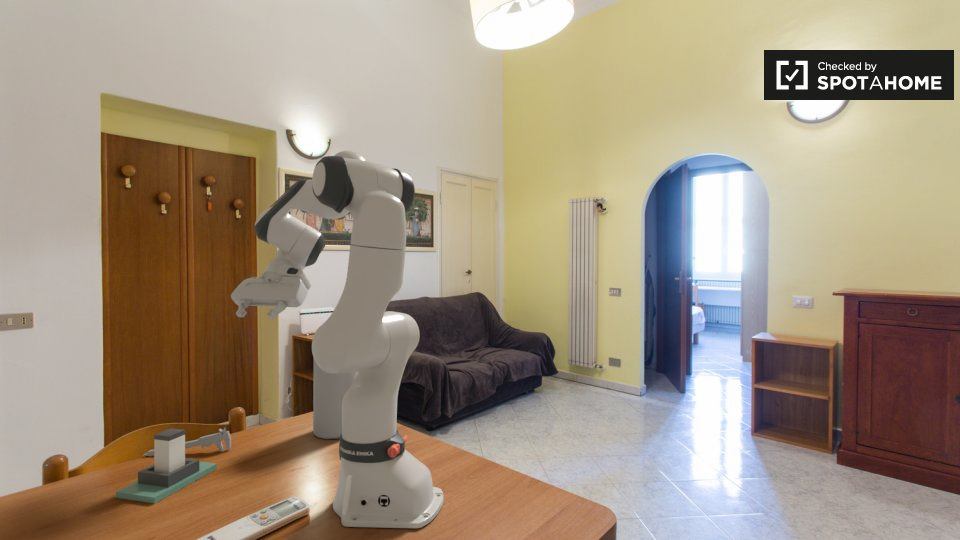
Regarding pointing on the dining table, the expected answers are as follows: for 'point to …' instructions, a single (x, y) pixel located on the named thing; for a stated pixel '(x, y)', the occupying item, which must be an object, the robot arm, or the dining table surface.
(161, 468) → the plug
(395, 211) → the robot arm
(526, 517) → the dining table surface
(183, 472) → the socket
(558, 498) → the dining table surface
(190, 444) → the caliper
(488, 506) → the dining table surface
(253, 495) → the dining table surface
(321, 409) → the cylinder vase
